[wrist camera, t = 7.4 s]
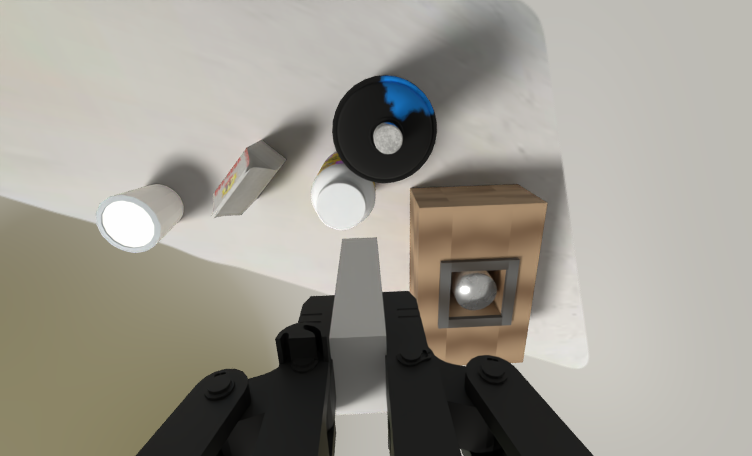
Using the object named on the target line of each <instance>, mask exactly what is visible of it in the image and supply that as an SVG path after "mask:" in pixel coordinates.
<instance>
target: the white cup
mask: <svg viewBox="0 0 752 456" xmlns="http://www.w3.org/2000/svg"><path fill="white" fill-rule="evenodd" d="M183 211H184V205H183V203H182V200H181V198H180V197H179V195H178V194H177V193H176V192H175V191H174V190H172V189H171V188H169V187H167V186H164V185H160V184H154V185H148V186H145V187H141V188H138V189H135V190H131V191H128V192H124V193H121V194H117V195H114V196H110V197H108V198H107V199H106V200H104V201H103V202H101V203H100V205H99V207H98V209H97V211H96V224H97V226H98V228H99V230H100V232H101V234H102V236H103V237H104V238H105V239H106V240H107V241H108V242H109V243H110V244H112V245H113V246H115V247H117V248H119V249H121V250H123V251H128V252H134V253H137V252H144V251H147V250H149V249H150V248H152V247H154V246H155V245H156V244H157V243H158V242H159V241H160V240H161V239H162V238H163V237H164V236H165V235H166V234H167V233H168V232H169V231H170V230H171V229H172V228H173V227H174V226H175V225H176V224H177V223H178V222H179V221H180V219H181V217H182V215H183Z"/></svg>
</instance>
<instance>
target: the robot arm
mask: <svg viewBox="0 0 752 456" xmlns="http://www.w3.org/2000/svg"><path fill="white" fill-rule="evenodd" d="M275 340H276V346H277V352H278V359H279V367H278V368H277V369H275V370H273V371H271V372H269V373H266V374H264V375H260V376H257V377H253V378H250V379H248V378H247V376H246V375H245V374H244V372H243V371H240V370H237V369H224V370H220V371H217V372H214V373H212V374H210V375H208V376H206V377H205V378H204V379H202V380H201V381H200V382H199V383H198V384H197V385H196V386H195V387H194V388H193V389H192V391H191V392H190V393H189V394H188V395H187V396H186V398H185V399H184V400H183V401H182V402H181V403H180V405H179V406H178V407H177V408H176V409H175V410H174V412H173V413H172V414H171V415H170V416H169V417H168V419H167V420H166V421H165V422H164V423H163V424H162V426H161V427H160V428H159V429H158V430H157V431H156V433H155V434H154V435H153V436H152V437H151V438H150V440H149V441H148V442H147V443H146V444H145V445H144V447H143V448H142V449H141V450H140V451H139V452H138V454H137V455H136V456H334V453H335V438H336V427H335V410H336V414H337V415H346V414H365V413H385V412H387V413H388V447H389V450H390V456H462V455H461V452H460V449H461V450H462V454H463V455H464V456H593V455H592V453H591V452H590V451H589V450H588V449H587V448H586V447H585V446H584V444H583V443H582V442H581V441H580V440H579V439H578V438H577V437H576V435H575V434H574V433H573V432H572V431H571V430H570V429H569V428H568V426H567V425H566V424H565V423H564V422H563V421H562V420H561V419H560V418H559V416H558V415H557V414H556V413H555V412H554V411H553V410H552V408H551V407H550V406H549V405H548V404H547V403H546V401H545V400H544V399H543V398H542V397H541V396H540V395H539V394H538V392H537V391H536V390H535V389H534V388H533V387H532V386H531V385H530V384H529V382H528V381H527V380H526V379H525V378H524V377H523V376H522V374H521V373H520V372H519V371H518V370H517V369H516V368H515V367H514V366H513V365H512V364H511V363H509V362H508V361H506V360H504V359H502V358H500V357H497V356H491V355H480V356H477V357H474V358H472V359H471V360H470V361H469V362H468V363H467V365H466V366H461V365H456V364H451V363H448V362H445V361H443V360H441V359H439V358H438V357H436V356H435V355H434V353H433V351H432V350H431V349H430V348H429V347H428V344H427V340H426V336H425V332H424V328H423V324H422V320H421V317H420V312H419V309H418V304H417V300H416V298H415V297H414V296H413V295H412V294H411V293H410V292H409V291H397V292H382V286H381V275H380V265H379V254H378V244H377V237H376V238H352V239H342V245H341V253H340V260H339V268H338V275H337V283H336V290H335V295H330V296H311V297H310V298H309V299H308V300H307V301H306V302H305V303H304V304H303V306H302V310H301V313H300V317H299V321H298V323H296V324H293V325H291V326H288V327H286V328H285V329H284V330H282V331H281V332H280V333H279V334H278V336H277V337H276V339H275Z"/></svg>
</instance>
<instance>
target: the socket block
mask: <svg viewBox="0 0 752 456" xmlns="http://www.w3.org/2000/svg"><path fill="white" fill-rule="evenodd" d="M546 209H547V202H545V201H544V200H542V199H540V198H539V197H537V196H536V195H534V194H532V193H531V192H529V191H528V190H526V189H525V188H523V187H521V186H520V185H518V184H511V185H485V186H459V187H433V188H410V293H411V294H412V295H413V296H414V297H415V298H416V300H417V304H418V309H419V312H420V317H421V320H422V324H423V328H424V332H425V336H426V340H427V344H428V347H429V348H430V349H431V350H432V351H433V353H434V355H435V356H436V357H438V358H439V359H441V360H443V361H445V362H448V363H451V364H456V365H467V363H468V362H469V361H470V360H471V359H472V358H474V357H477V356H480V355H491V356H497V357H500V358H502V359H504V360H506V361H508V362H509V363H519V362H523V358H524V351H525V345H526V338H527V332H528V325H529V319H530V312H531V306H532V300H533V293H534V287H535V280H536V274H537V267H538V261H539V254H540V248H541V241H542V235H543V228H544V222H545V216H546ZM465 271H487V272H488V273H489V275H490V276H491V278H492V279H493V281H494V282H495V284H496V287H497V293H496V297H495V299H494V300H493V301H492V303H491V304H490V305H488V306H487V307H485V308H483V309H480V310H468V309H465V308H463V307H462V306H460V305H459V304H458V302H457V300H456V298H455V296H454V293H453V291H452V289H451V272H465Z"/></svg>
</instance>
